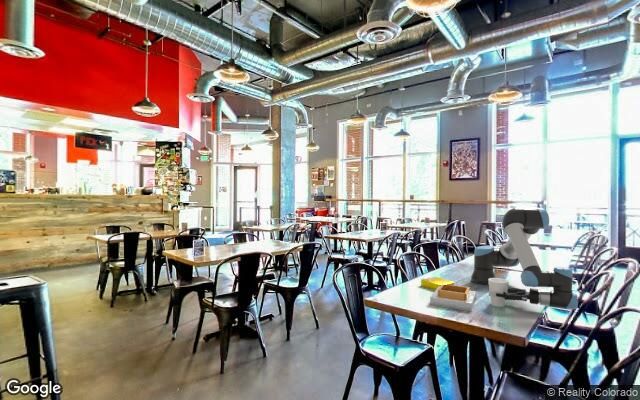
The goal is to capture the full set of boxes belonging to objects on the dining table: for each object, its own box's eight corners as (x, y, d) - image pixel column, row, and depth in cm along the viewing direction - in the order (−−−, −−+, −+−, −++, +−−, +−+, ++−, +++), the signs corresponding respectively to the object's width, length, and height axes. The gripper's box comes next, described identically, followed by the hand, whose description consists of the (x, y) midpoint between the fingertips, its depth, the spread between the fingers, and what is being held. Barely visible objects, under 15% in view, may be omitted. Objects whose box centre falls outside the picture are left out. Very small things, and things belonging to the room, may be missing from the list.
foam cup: (491, 300, 187) (492, 277, 186) (510, 304, 180) (511, 280, 180) (485, 304, 180) (485, 280, 180) (504, 309, 173) (505, 283, 173)
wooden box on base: (438, 293, 200) (438, 281, 200) (476, 298, 191) (476, 285, 190) (430, 304, 179) (430, 291, 179) (471, 311, 170) (472, 297, 170)
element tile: (438, 292, 204) (439, 284, 203) (419, 286, 216) (419, 278, 216) (455, 288, 211) (455, 281, 211) (435, 283, 224) (435, 275, 224)
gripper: (540, 311, 161) (488, 303, 172) (537, 298, 181) (490, 292, 192) (540, 295, 161) (488, 288, 172) (537, 284, 181) (490, 278, 192)
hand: (489, 290), depth 182 cm, fingers open, 10 cm apart
